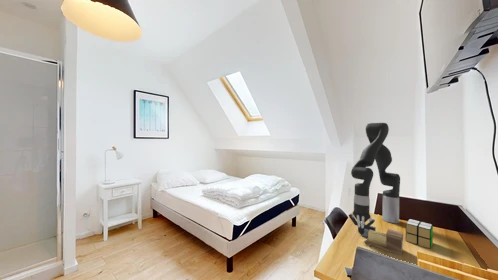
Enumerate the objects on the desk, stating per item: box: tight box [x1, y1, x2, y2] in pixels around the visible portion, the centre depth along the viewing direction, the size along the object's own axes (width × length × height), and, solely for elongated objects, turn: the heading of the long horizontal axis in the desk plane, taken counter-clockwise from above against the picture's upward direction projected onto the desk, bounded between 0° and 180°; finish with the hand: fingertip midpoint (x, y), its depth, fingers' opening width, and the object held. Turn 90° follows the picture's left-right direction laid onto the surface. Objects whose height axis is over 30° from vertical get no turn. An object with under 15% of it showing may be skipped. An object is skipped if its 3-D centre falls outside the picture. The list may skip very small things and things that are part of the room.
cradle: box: [360, 225, 377, 239], centre depth 110 cm, size 8×6×4 cm
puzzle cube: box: [405, 218, 434, 250], centre depth 103 cm, size 10×10×10 cm
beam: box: [365, 228, 404, 257], centre depth 98 cm, size 7×15×9 cm, turn 47°
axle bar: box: [368, 230, 404, 247], centre depth 97 cm, size 4×14×5 cm, turn 47°
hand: (361, 233), depth 105 cm, fingers closed
